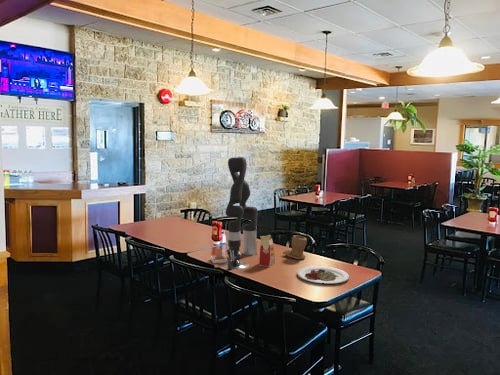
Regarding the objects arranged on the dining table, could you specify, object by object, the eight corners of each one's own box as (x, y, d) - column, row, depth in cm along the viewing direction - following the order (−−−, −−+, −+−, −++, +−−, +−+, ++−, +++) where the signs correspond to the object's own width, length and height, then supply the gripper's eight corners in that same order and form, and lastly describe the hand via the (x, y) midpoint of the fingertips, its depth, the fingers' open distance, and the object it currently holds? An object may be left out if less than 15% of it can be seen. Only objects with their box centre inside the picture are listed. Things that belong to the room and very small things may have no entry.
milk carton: (275, 264, 263) (276, 233, 260) (270, 268, 254) (270, 236, 252) (262, 262, 267) (263, 232, 264) (256, 266, 258) (257, 235, 256)
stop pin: (221, 259, 269) (221, 247, 268) (222, 261, 265) (222, 249, 264) (215, 259, 268) (215, 248, 267) (216, 261, 264) (216, 249, 263)
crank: (235, 263, 260) (235, 255, 259) (241, 264, 258) (241, 256, 258) (225, 269, 249) (225, 260, 248) (232, 270, 247) (232, 261, 246)
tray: (224, 258, 272) (224, 255, 272) (227, 263, 263) (227, 259, 263) (210, 259, 270) (210, 256, 269) (213, 264, 261) (213, 260, 260)
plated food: (358, 277, 240) (359, 272, 240) (329, 290, 220) (329, 284, 219) (317, 265, 262) (317, 260, 261) (286, 276, 241) (286, 270, 240)
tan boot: (309, 258, 276) (310, 236, 274) (297, 261, 269) (297, 239, 267) (294, 253, 288) (295, 232, 286) (281, 255, 281) (282, 234, 279)
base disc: (245, 261, 267) (245, 259, 267) (252, 269, 252) (252, 266, 252) (212, 263, 261) (212, 261, 261) (217, 271, 246) (217, 269, 246)
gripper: (246, 239, 241) (246, 268, 243) (232, 235, 251) (232, 262, 253) (236, 241, 236) (236, 270, 238) (222, 237, 246) (222, 265, 248)
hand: (234, 266), depth 245 cm, fingers closed
